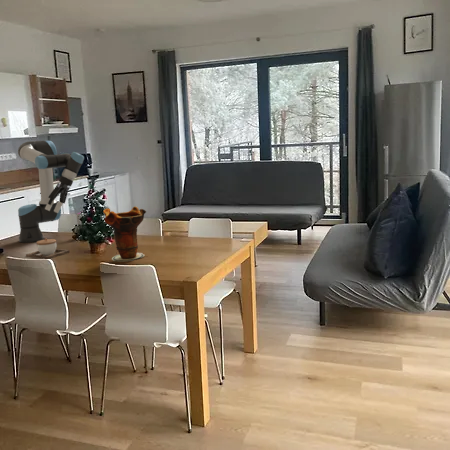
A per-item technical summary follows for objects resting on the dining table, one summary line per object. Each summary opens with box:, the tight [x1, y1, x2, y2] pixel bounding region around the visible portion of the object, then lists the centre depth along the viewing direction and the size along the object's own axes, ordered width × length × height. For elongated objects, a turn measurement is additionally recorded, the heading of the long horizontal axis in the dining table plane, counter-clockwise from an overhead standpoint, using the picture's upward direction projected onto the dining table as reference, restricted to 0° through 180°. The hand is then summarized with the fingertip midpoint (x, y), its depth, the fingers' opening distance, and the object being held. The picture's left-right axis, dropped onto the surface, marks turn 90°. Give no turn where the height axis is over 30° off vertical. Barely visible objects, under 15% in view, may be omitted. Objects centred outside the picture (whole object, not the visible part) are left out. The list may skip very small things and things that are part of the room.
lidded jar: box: [36, 237, 57, 256], centre depth 284 cm, size 11×11×9 cm
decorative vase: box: [103, 206, 147, 262], centre depth 266 cm, size 21×23×28 cm
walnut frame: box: [25, 248, 70, 260], centre depth 285 cm, size 16×18×1 cm
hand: (51, 211), depth 285 cm, fingers open, 13 cm apart
